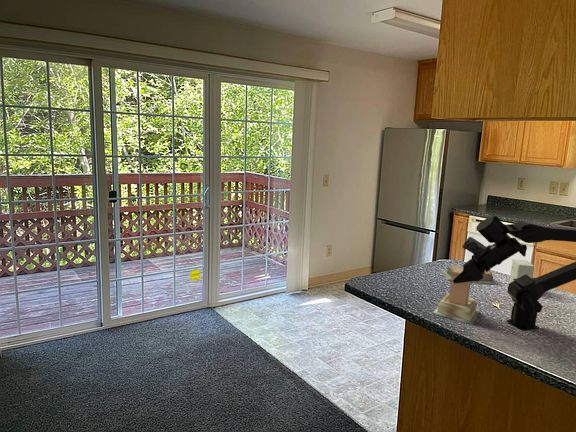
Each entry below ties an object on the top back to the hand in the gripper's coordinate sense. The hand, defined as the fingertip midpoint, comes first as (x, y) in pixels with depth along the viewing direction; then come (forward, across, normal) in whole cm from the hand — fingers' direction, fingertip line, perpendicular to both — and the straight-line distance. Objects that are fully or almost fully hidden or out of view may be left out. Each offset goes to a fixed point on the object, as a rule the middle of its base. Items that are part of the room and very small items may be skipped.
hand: (456, 278), depth 139 cm
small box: (-2, -42, +19) cm, 46 cm away
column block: (+5, 0, +7) cm, 8 cm away
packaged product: (+11, -40, +6) cm, 42 cm away
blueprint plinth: (+7, 0, +9) cm, 12 cm away
